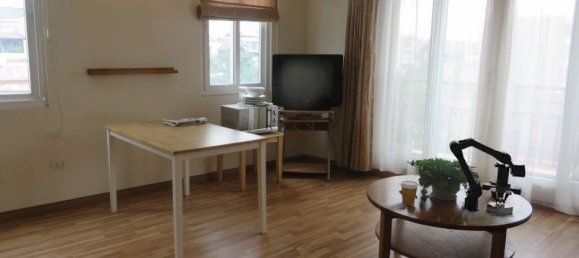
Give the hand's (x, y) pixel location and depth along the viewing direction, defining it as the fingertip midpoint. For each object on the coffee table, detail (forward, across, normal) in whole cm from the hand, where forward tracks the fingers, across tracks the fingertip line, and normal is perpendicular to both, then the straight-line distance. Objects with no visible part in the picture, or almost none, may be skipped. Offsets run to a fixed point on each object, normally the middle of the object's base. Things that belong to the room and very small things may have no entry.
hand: (500, 204), depth 252 cm
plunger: (+4, 0, 0) cm, 4 cm away
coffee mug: (+5, -3, +28) cm, 29 cm away
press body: (+5, -1, +1) cm, 5 cm away
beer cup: (+5, -46, -11) cm, 47 cm away
